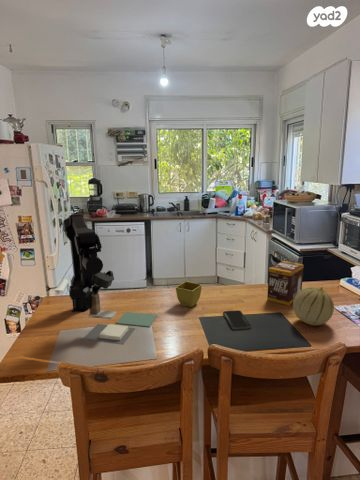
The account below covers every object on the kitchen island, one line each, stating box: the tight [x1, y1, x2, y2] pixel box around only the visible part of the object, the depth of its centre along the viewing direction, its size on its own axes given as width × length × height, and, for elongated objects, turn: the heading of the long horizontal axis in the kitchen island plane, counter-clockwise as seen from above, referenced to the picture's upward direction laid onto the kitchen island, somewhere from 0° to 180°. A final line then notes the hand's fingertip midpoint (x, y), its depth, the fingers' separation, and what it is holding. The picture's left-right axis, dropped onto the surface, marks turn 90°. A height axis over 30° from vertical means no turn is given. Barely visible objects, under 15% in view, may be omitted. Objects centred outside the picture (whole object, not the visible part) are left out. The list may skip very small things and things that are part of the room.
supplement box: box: [267, 260, 305, 306], centre depth 155 cm, size 10×15×16 cm
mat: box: [81, 323, 137, 345], centre depth 125 cm, size 16×12×1 cm
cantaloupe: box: [292, 286, 335, 326], centre depth 130 cm, size 15×15×15 cm
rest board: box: [115, 311, 158, 328], centre depth 136 cm, size 14×10×1 cm
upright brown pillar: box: [87, 293, 118, 320], centre depth 123 cm, size 9×5×8 cm, turn 76°
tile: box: [99, 323, 130, 340], centre depth 124 cm, size 2×8×8 cm
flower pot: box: [175, 281, 203, 308], centre depth 150 cm, size 9×9×9 cm
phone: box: [222, 310, 252, 331], centre depth 135 cm, size 8×1×15 cm
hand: (91, 306), depth 124 cm, fingers closed on upright brown pillar, 3 cm apart
